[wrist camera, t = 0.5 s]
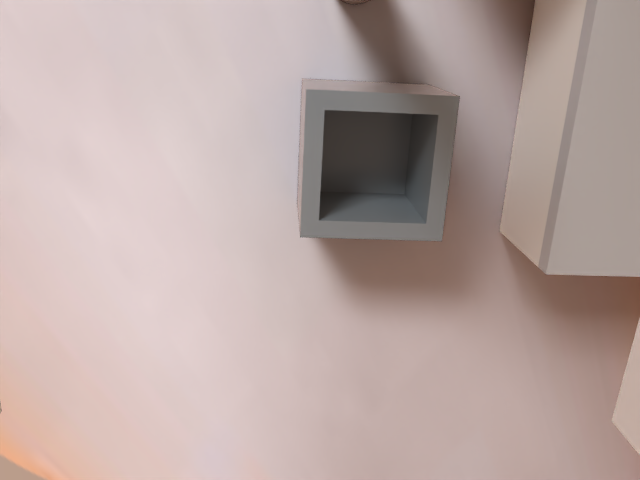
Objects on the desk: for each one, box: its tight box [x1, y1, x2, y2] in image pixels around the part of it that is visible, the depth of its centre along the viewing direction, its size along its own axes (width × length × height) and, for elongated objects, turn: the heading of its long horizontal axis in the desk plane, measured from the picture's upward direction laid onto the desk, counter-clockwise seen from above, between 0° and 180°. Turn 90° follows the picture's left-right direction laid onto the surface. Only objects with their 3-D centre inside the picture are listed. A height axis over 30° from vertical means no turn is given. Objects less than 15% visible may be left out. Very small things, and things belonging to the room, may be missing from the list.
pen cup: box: [297, 78, 460, 241], centre depth 32 cm, size 7×7×6 cm
